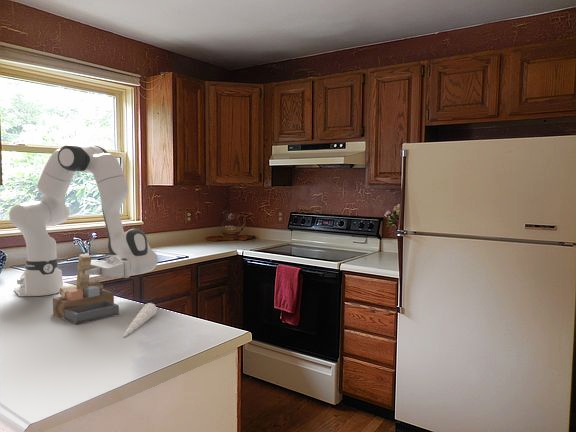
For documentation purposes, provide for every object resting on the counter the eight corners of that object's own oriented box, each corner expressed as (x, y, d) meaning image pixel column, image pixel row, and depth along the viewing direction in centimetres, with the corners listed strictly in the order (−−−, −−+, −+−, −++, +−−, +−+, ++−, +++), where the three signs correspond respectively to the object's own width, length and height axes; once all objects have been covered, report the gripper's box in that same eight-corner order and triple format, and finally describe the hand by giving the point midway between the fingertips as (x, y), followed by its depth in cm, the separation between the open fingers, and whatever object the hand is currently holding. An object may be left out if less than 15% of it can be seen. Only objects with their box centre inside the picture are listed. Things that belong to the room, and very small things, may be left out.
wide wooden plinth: (53, 314, 157) (52, 297, 157) (102, 304, 171) (101, 288, 171) (64, 319, 152) (63, 302, 151) (114, 308, 165) (113, 292, 165)
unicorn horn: (111, 338, 134) (111, 322, 133) (144, 315, 157) (144, 302, 157) (126, 339, 133) (126, 323, 133) (157, 316, 157) (157, 302, 157)
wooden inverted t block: (59, 293, 158) (62, 256, 155) (97, 286, 169) (101, 251, 165) (64, 298, 156) (67, 260, 152) (102, 291, 166) (106, 255, 163)
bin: (64, 319, 152) (64, 309, 151) (106, 310, 163) (106, 300, 163) (76, 324, 146) (76, 314, 146) (119, 314, 157) (118, 304, 157)
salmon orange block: (66, 298, 156) (66, 290, 155) (77, 296, 159) (77, 288, 158) (71, 300, 153) (71, 292, 153) (83, 298, 156) (82, 290, 156)
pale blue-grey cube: (83, 295, 160) (83, 287, 160) (94, 293, 163) (94, 285, 163) (88, 297, 158) (88, 289, 157) (99, 295, 161) (99, 287, 160)
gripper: (103, 255, 177) (68, 259, 166) (131, 260, 163) (94, 266, 153) (104, 270, 177) (68, 276, 166) (131, 277, 164) (95, 284, 153)
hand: (81, 271), depth 159 cm, fingers closed on wooden inverted t block, 4 cm apart
